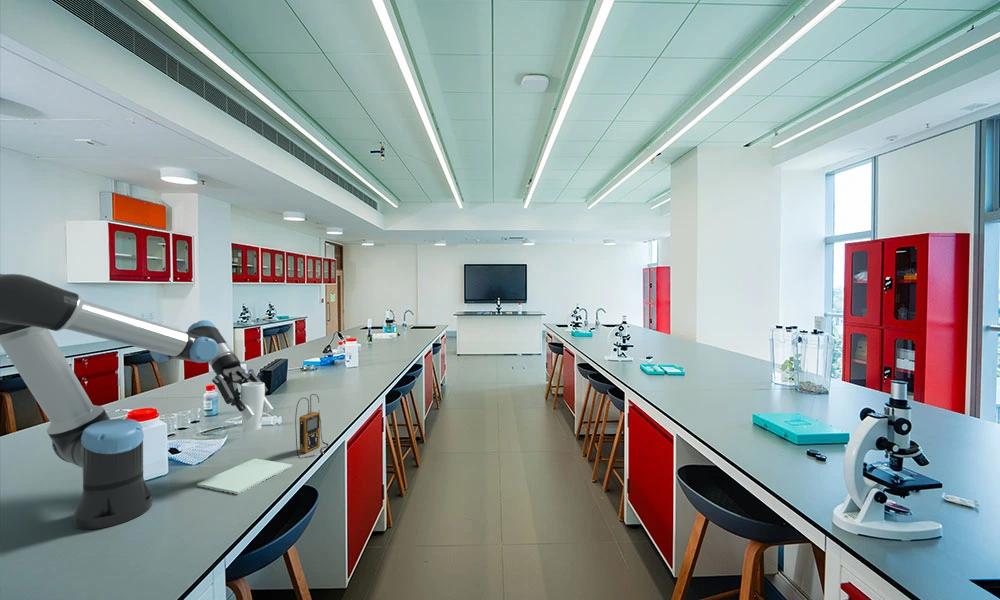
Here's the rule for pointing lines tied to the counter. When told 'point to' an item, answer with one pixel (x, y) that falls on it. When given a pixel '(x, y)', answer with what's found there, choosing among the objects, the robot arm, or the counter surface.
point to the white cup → (253, 404)
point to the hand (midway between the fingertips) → (260, 414)
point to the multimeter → (309, 430)
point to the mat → (244, 476)
